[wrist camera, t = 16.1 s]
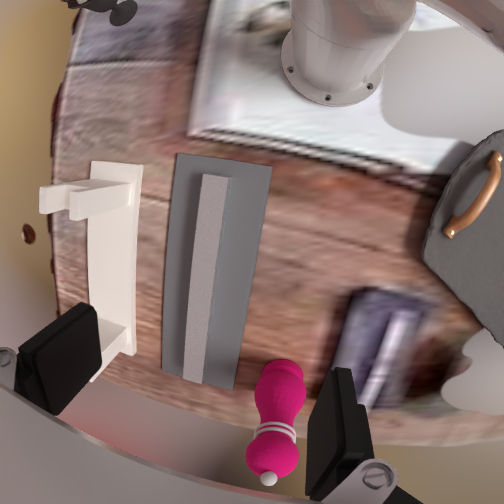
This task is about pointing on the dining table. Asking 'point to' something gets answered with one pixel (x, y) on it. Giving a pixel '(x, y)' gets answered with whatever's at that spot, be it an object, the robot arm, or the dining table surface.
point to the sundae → (108, 8)
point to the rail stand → (106, 246)
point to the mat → (231, 265)
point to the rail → (205, 273)
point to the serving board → (472, 234)
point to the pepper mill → (276, 421)
